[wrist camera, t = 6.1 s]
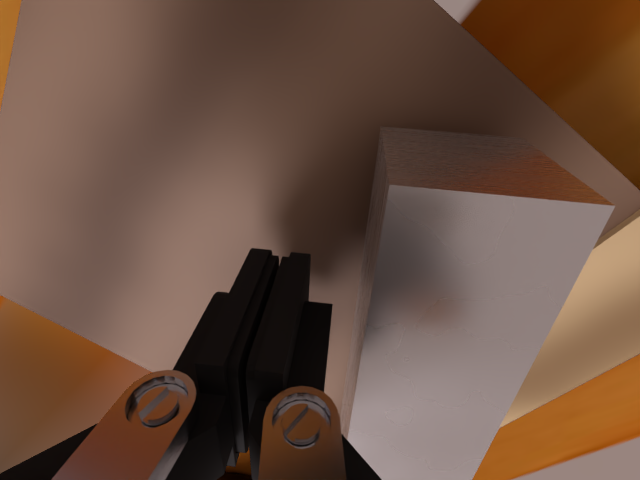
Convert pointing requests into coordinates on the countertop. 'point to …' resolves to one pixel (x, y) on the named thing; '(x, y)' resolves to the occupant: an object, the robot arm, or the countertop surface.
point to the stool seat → (259, 166)
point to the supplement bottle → (234, 477)
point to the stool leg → (457, 294)
